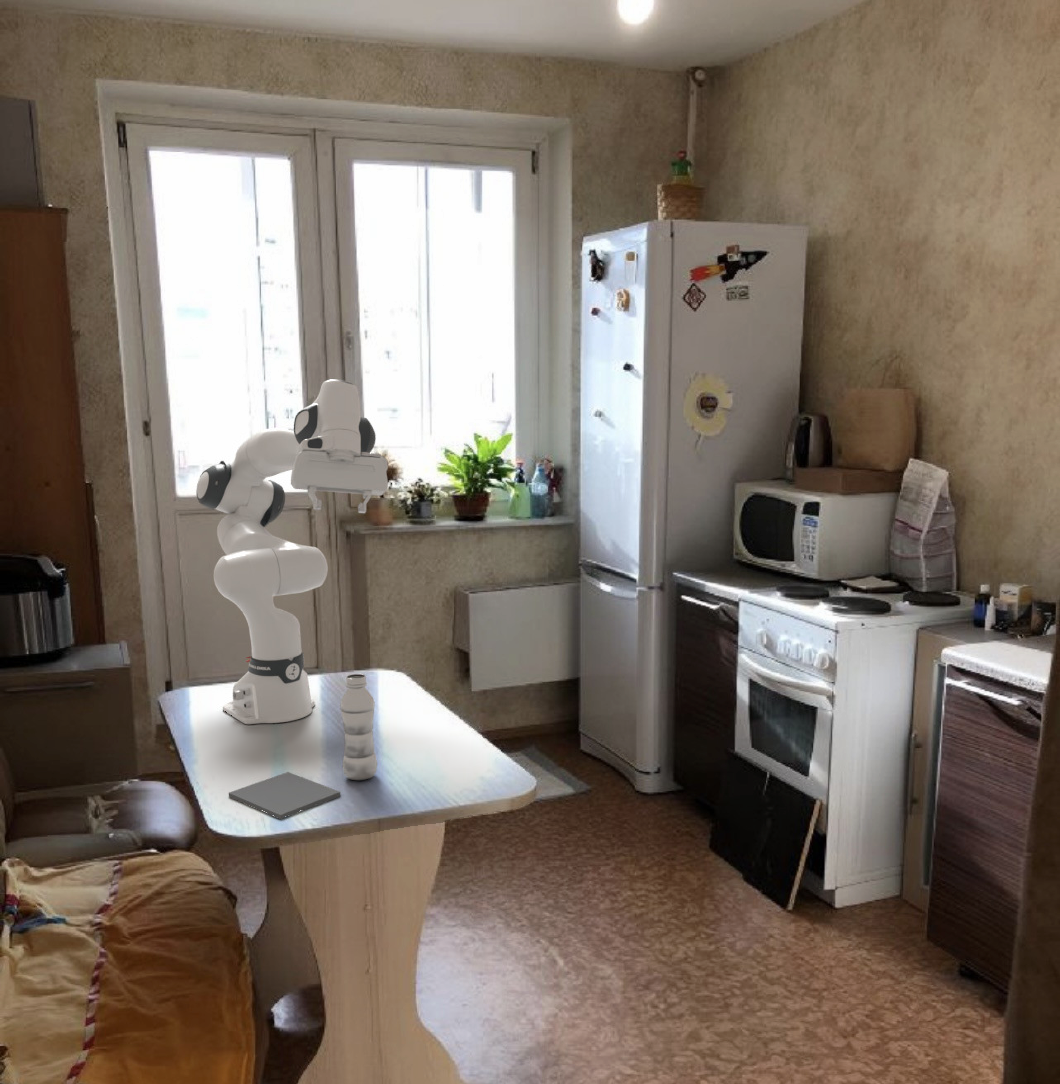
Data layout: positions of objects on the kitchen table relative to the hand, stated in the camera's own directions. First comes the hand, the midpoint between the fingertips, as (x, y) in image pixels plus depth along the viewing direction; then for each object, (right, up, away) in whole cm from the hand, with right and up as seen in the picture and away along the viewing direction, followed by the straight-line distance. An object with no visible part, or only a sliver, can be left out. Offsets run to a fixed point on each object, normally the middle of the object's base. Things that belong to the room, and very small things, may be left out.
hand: (339, 510), depth 207 cm
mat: (-5, -53, -27) cm, 60 cm away
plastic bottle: (+8, -52, -19) cm, 56 cm away
